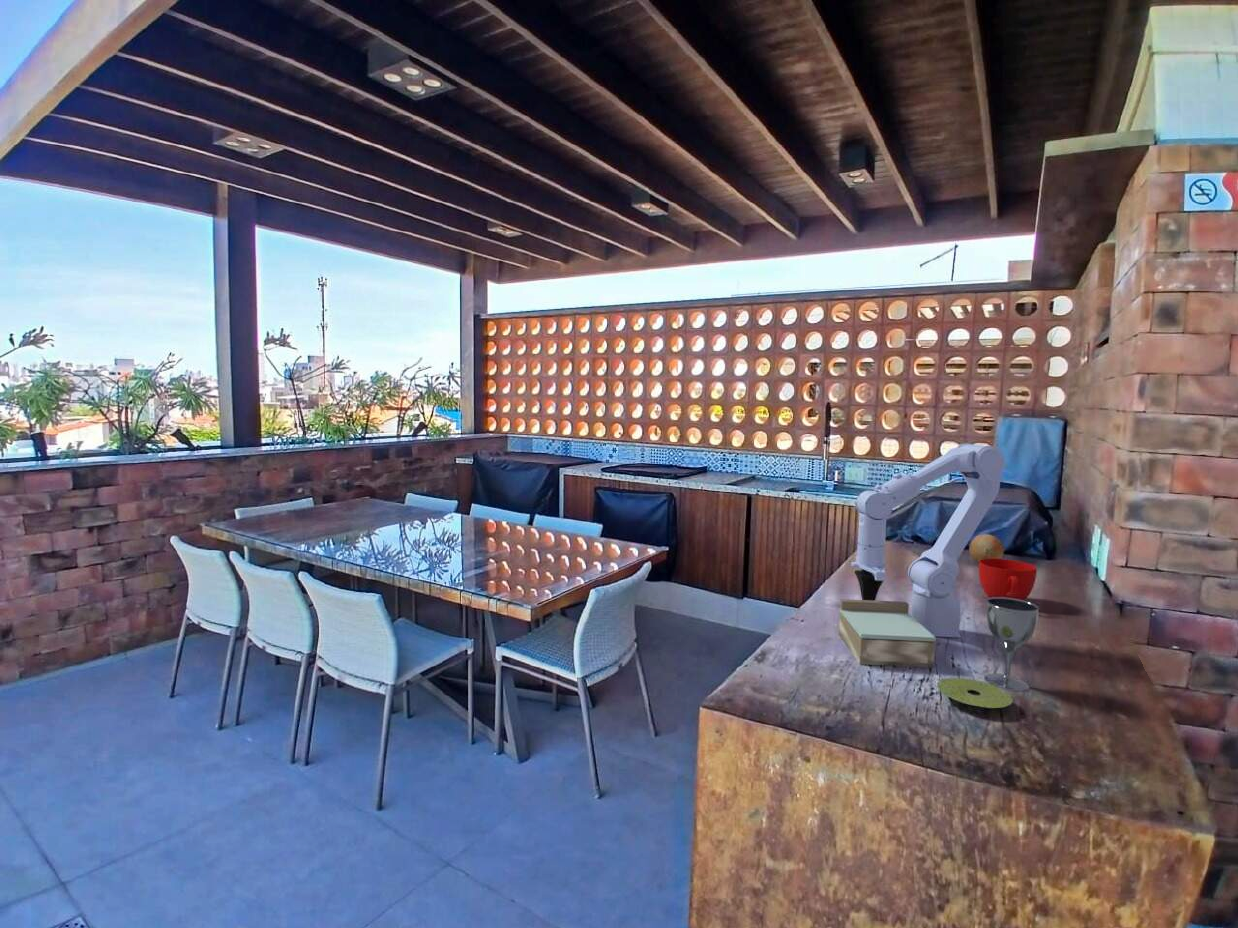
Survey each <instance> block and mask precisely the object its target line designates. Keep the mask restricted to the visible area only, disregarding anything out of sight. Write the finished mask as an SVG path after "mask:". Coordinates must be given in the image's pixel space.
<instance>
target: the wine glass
mask: <svg viewBox="0 0 1238 928" xmlns="http://www.w3.org/2000/svg"><path fill="white" fill-rule="evenodd" d="M1038 618H1039V606H1038V605H1037V604H1034V603H1032V602H1030V601H1027V600H1019V599H1014V598H1006V597H992V598H989V597H988V598H987V600H986V620H987V625H988V629H989V632H990V633H991V634H992V635H993V637H994V638H995V639H996V641H997V642H998V643H999V644H1000V646H1001V648H1002V649H1003V653H1004V661H1005V662H1004V665H1005V666H1004V674H1002V673H989V674H986V675H985V676H984V681H985V682H986V683H987V684H991V685H994V686H996V687H998V688H1000V689H1002V690H1007V691H1014V692H1025V691H1029V690H1030V684H1029V683H1027V682H1026V681H1024V680H1023V679H1021V678H1018V677H1015V676H1011V665H1012V659H1013V655H1014V654H1015V652H1016V651H1017V649H1019V648H1020V647H1021V646H1023V645H1024V644H1026V643H1027V642H1028V641H1029V640H1031V638H1032V637H1033V635H1034V633H1035V630H1036V627H1037V624H1038Z"/></svg>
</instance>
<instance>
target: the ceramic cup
mask: <svg viewBox="0 0 1238 928" xmlns="http://www.w3.org/2000/svg"><path fill="white" fill-rule="evenodd" d="M1037 571H1038V569H1037V567H1036V566H1035V565H1033V564H1031V563H1027V562H1022V561H1020V560H1013V559H1007V558H1005V559H1004V558H1001V559H982V560H980V561H979V563H978V578H979V582H980V585H981V588H982V590H983V592H984V593H985V594H986V596H987V597H988V599H989V598H992V597H1006V598H1014V599H1019V600H1023V601H1025V600H1026V599H1027V598H1028V596H1029V595H1030V594H1031V592H1032V591H1033V589H1034V585H1035V582H1036V579H1037Z"/></svg>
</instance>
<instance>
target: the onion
mask: <svg viewBox="0 0 1238 928" xmlns="http://www.w3.org/2000/svg"><path fill="white" fill-rule="evenodd" d="M968 550H969V555H970V557H971V558H972V559H973V561H975V562H976V561H978V562H979V561H980V560H982V559H1003V556H1004V552H1005V551H1004V546H1003V543H1002V542H1001V540H1000V539H999V538H998V537H996V536H995V535H992V534H990V533H989V534H987V533H982V534H981V533H980V534H978V535H977V536H975V537H974V538H973V539H972V540H971V541H970V544H969V549H968ZM978 562H977V563H978Z"/></svg>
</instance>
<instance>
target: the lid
mask: <svg viewBox="0 0 1238 928" xmlns="http://www.w3.org/2000/svg"><path fill="white" fill-rule="evenodd" d="M839 603H840V607H839V613H842V614H843V616H844V617H845V618H846V620H847V621H848V622H849V623H850V625H851V626H852V627H853V628H854V630H855V631H856V632H857V633H858V635H859V636H860V637H861V638H870V639H891V640H912V641H933V642H935V643H936V640H937V639H936V638H937V637H936V636H933V635H932V634H931V633H930V632H929V631H928V630H927V629H925V628H924V627H923V626H922V625H921V624H920V623H919V622H918V621H916V620H915V619H914V618H913V617H912V616H911V613H909V608H910V607H909V605H910V604H909V603H908V602H907V601H894V600H892V601H891V600H875V601H873V600H862V599H847V598H846V599H844V598H840V602H839Z"/></svg>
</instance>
